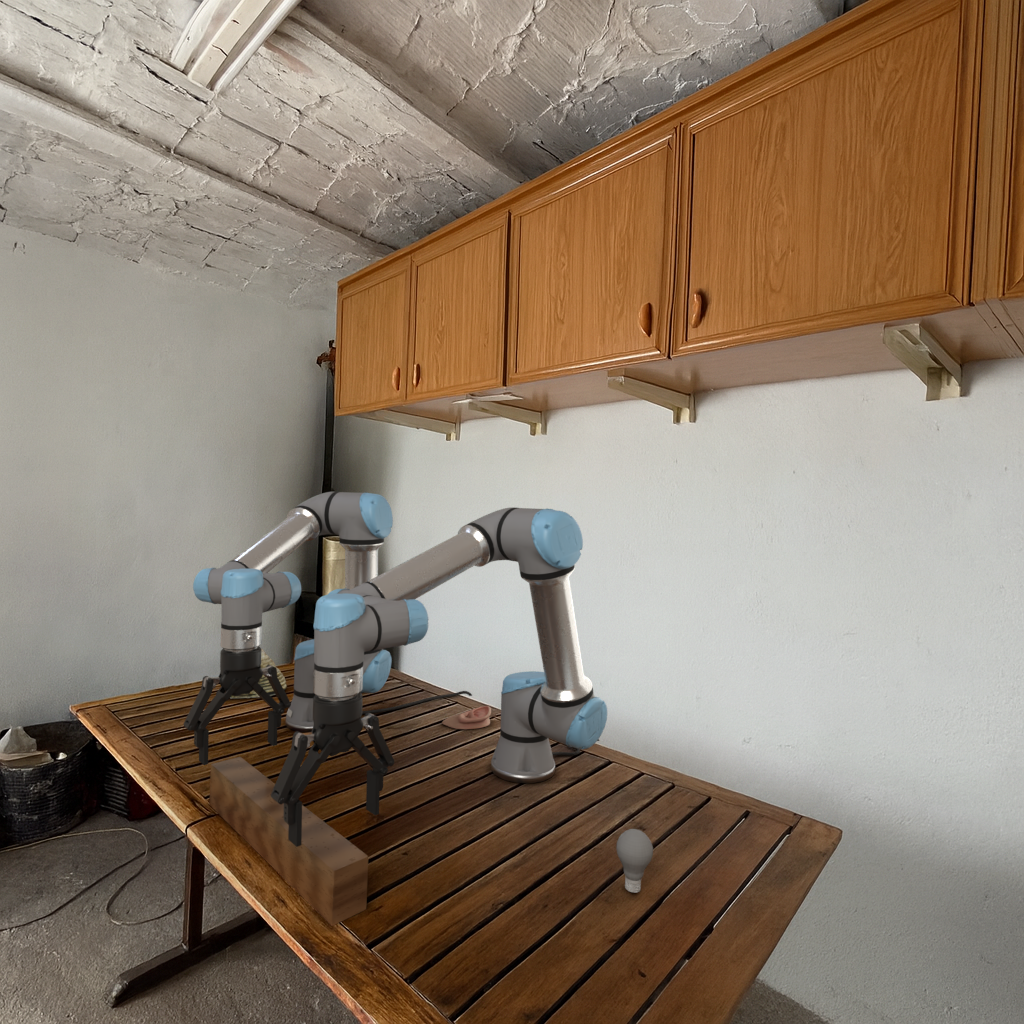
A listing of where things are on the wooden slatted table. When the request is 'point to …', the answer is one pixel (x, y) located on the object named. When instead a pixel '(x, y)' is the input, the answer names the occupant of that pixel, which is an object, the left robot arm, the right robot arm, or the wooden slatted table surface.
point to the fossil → (265, 679)
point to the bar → (307, 868)
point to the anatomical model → (470, 719)
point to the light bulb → (634, 857)
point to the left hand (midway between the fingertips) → (239, 752)
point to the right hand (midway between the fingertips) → (335, 826)
